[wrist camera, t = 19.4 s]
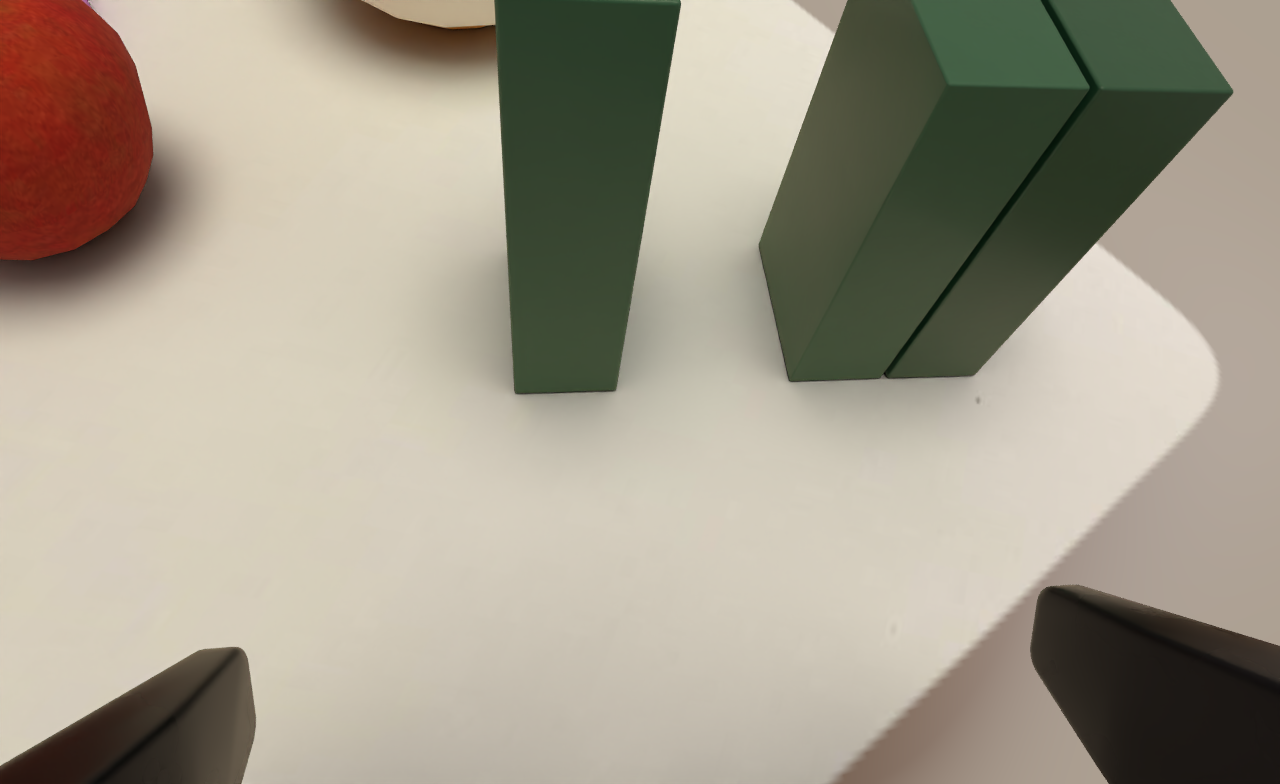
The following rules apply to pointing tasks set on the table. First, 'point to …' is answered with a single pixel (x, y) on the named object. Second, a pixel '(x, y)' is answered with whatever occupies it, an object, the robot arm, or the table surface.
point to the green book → (577, 176)
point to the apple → (66, 128)
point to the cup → (441, 12)
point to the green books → (968, 171)
